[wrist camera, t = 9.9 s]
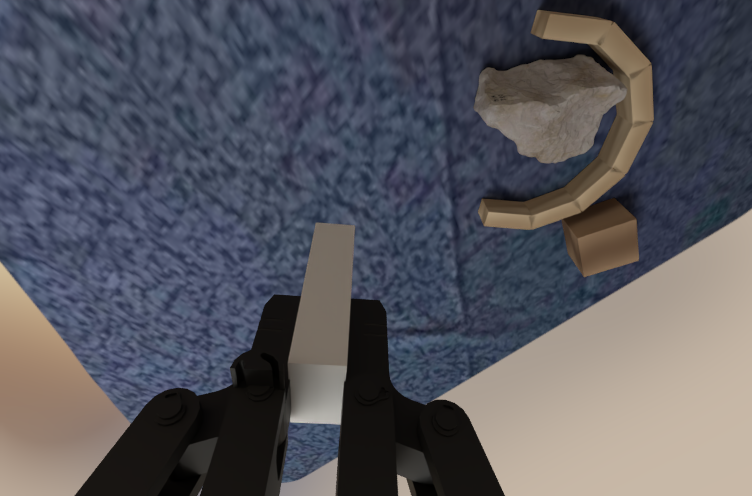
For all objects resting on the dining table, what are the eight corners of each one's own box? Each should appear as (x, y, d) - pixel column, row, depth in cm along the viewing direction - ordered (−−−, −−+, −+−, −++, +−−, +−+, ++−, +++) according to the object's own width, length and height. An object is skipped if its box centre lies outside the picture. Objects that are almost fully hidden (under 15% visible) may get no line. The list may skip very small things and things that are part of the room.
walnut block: (560, 215, 39) (577, 238, 36) (613, 197, 38) (636, 219, 35) (567, 252, 42) (584, 277, 39) (617, 236, 41) (638, 260, 38)
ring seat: (537, 9, 29) (550, 13, 27) (676, 26, 30) (699, 31, 28) (478, 212, 39) (484, 226, 37) (583, 220, 39) (595, 235, 37)
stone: (569, 154, 35) (599, 185, 31) (460, 145, 35) (472, 175, 30) (608, 55, 31) (650, 73, 26) (481, 43, 30) (500, 60, 26)
